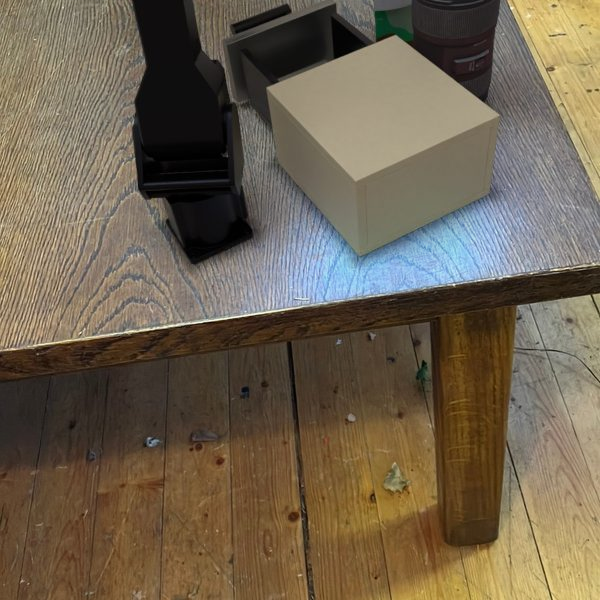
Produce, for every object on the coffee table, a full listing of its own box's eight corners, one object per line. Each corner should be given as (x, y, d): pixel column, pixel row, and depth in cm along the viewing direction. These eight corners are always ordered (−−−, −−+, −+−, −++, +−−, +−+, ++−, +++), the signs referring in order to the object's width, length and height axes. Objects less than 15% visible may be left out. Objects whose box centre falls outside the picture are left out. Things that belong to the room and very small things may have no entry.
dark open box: (213, 75, 83) (201, 18, 78) (312, 36, 86) (307, -21, 81) (296, 169, 71) (288, 109, 66) (407, 120, 75) (407, 59, 69)
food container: (430, 79, 80) (434, -8, 72) (375, 77, 81) (373, -8, 74) (440, 19, 88) (444, -66, 80) (389, 18, 89) (388, -65, 81)
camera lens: (495, 89, 78) (510, -52, 66) (481, 136, 73) (495, -7, 62) (420, 81, 80) (423, -56, 69) (402, 126, 75) (402, -13, 64)
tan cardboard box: (277, 162, 74) (265, 87, 67) (395, 111, 77) (395, 34, 70) (359, 257, 64) (355, 181, 58) (489, 194, 68) (500, 115, 61)
